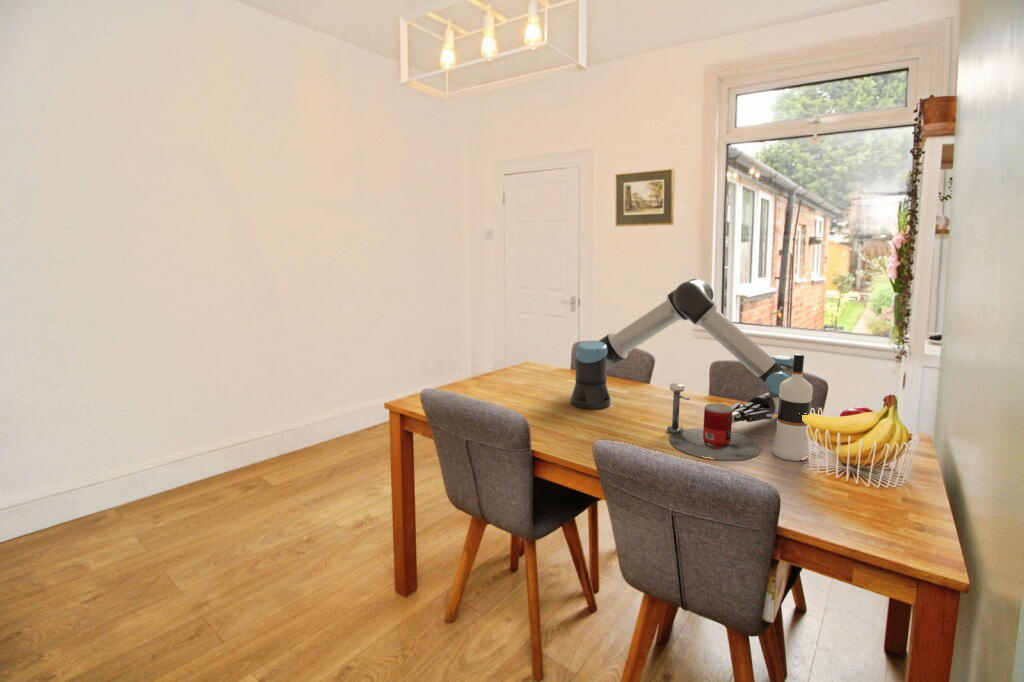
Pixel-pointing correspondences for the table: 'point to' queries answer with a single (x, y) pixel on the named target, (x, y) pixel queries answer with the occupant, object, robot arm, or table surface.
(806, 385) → the vodka
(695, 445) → the turntable
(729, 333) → the robot arm
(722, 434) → the canned food
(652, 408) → the table surface
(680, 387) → the faucet
